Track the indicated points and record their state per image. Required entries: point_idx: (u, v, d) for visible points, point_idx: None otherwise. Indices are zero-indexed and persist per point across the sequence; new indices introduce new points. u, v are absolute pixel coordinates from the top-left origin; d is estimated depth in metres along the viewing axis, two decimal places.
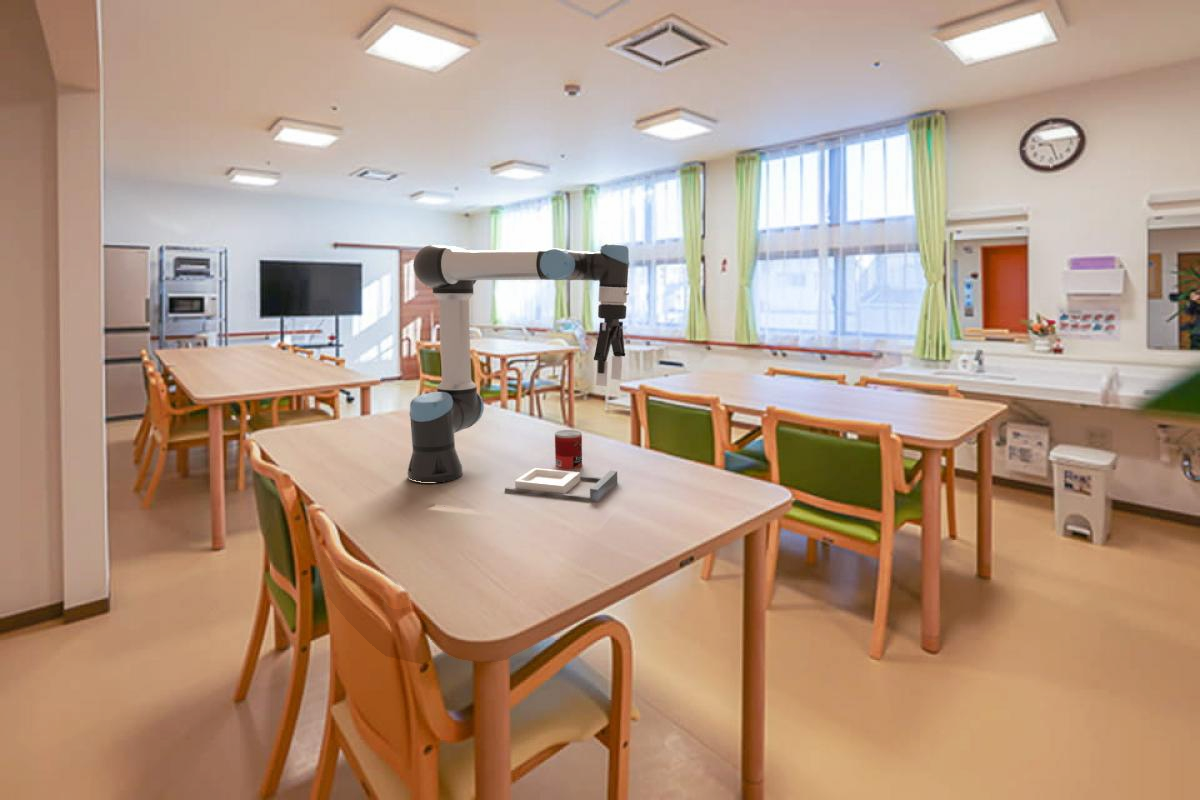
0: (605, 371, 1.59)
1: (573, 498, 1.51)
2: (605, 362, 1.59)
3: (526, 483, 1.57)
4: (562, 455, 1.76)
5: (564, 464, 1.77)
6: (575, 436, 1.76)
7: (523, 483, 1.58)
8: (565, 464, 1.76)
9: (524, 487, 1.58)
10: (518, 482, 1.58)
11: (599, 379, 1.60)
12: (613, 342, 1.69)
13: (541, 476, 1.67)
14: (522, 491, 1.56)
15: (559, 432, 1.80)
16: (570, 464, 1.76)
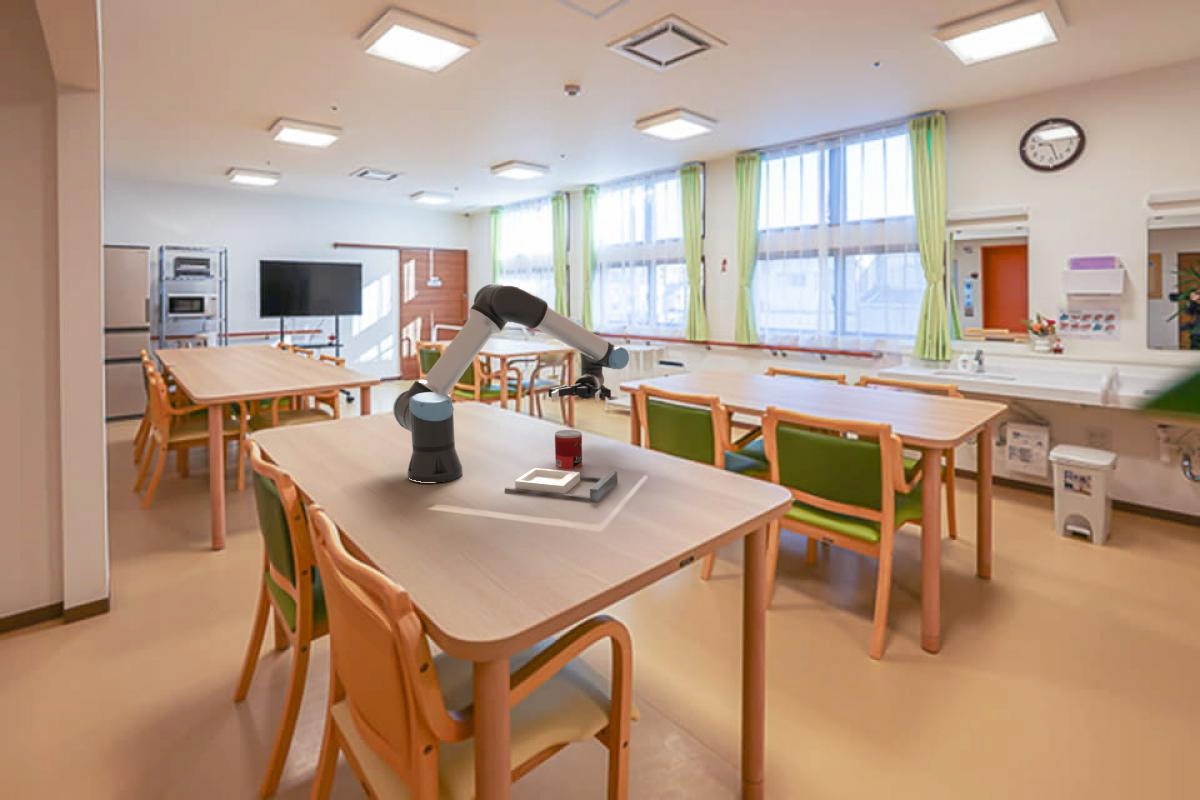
0: (599, 399, 1.89)
1: (573, 498, 1.51)
2: None
3: (526, 483, 1.57)
4: (562, 455, 1.76)
5: (564, 464, 1.77)
6: (575, 436, 1.76)
7: (523, 483, 1.58)
8: (565, 464, 1.76)
9: (524, 487, 1.58)
10: (518, 482, 1.58)
11: (598, 395, 1.87)
12: (568, 390, 1.97)
13: (541, 476, 1.67)
14: (522, 491, 1.56)
15: (559, 432, 1.80)
16: (570, 464, 1.76)
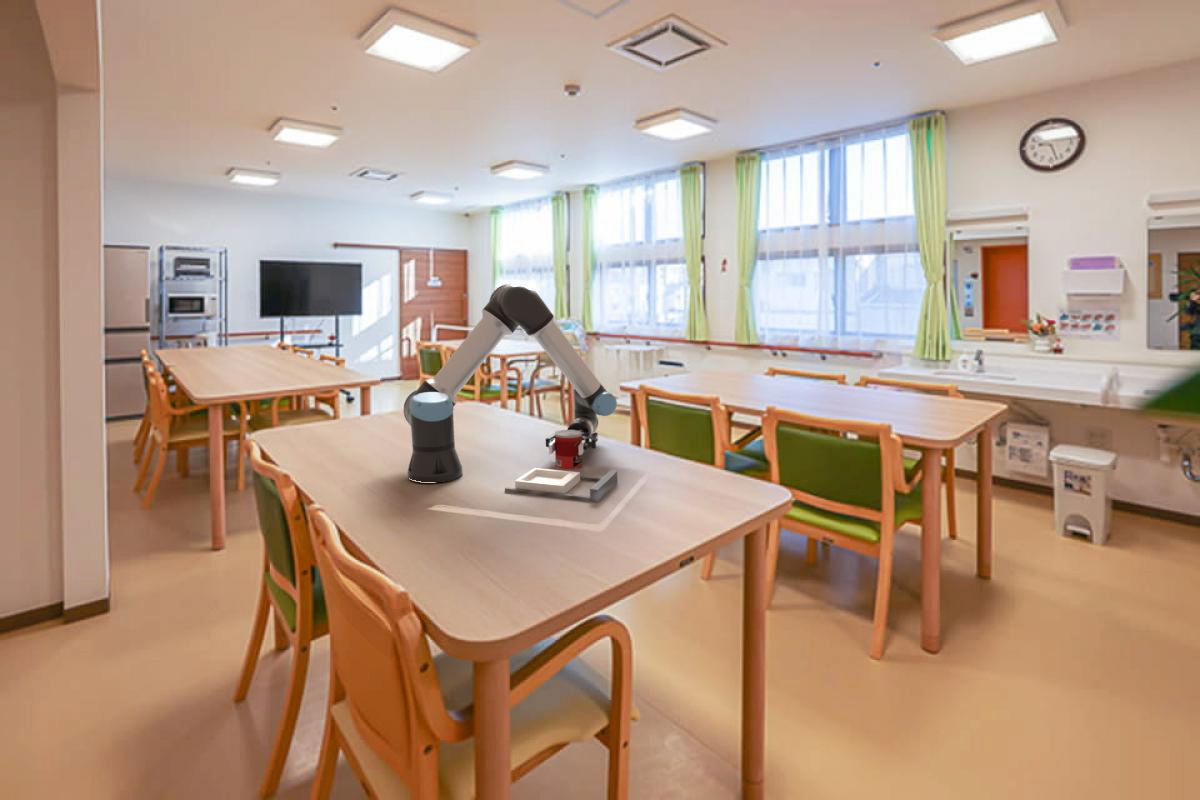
0: (583, 450, 1.78)
1: (573, 498, 1.51)
2: None
3: (526, 483, 1.57)
4: (562, 455, 1.76)
5: (564, 464, 1.77)
6: (575, 436, 1.76)
7: (523, 483, 1.58)
8: (565, 464, 1.76)
9: (524, 487, 1.58)
10: (518, 482, 1.58)
11: (582, 447, 1.75)
12: None
13: (541, 476, 1.67)
14: (522, 491, 1.56)
15: (559, 432, 1.80)
16: (570, 464, 1.76)
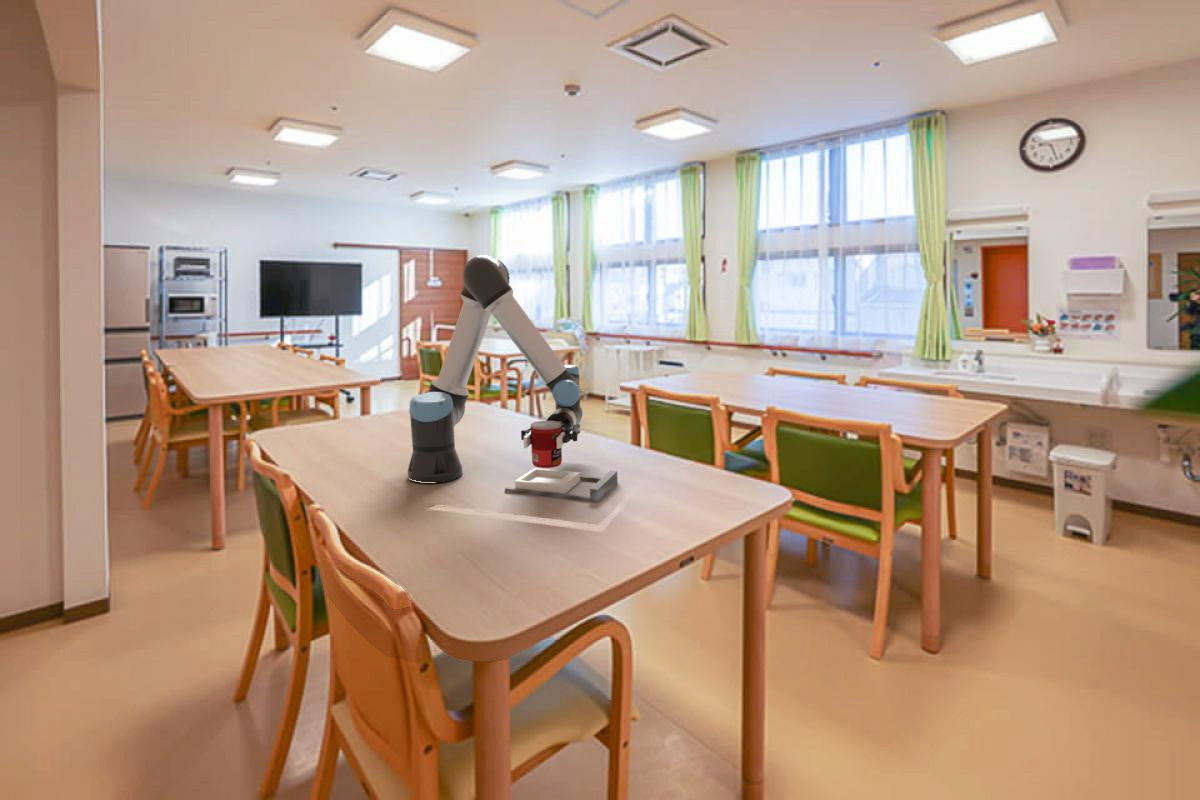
0: (563, 443, 1.59)
1: (573, 498, 1.51)
2: None
3: (526, 483, 1.57)
4: (539, 448, 1.57)
5: (540, 459, 1.57)
6: (553, 427, 1.56)
7: (523, 483, 1.58)
8: (542, 459, 1.57)
9: (524, 487, 1.58)
10: (518, 482, 1.58)
11: (560, 440, 1.56)
12: None
13: (541, 476, 1.67)
14: (522, 491, 1.56)
15: (536, 423, 1.61)
16: (548, 459, 1.57)
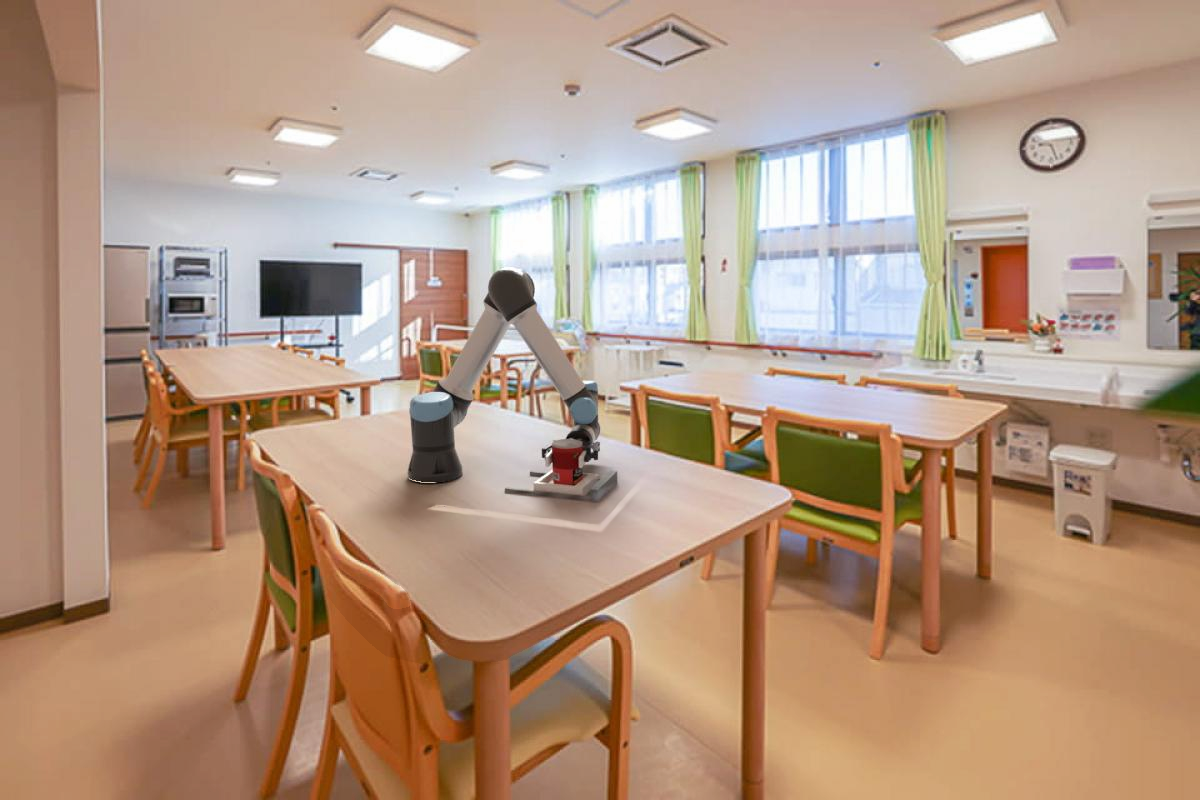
0: (584, 462, 1.58)
1: (573, 498, 1.51)
2: None
3: (545, 485, 1.56)
4: (560, 467, 1.56)
5: (562, 478, 1.56)
6: (575, 446, 1.55)
7: (542, 485, 1.56)
8: (563, 478, 1.56)
9: (543, 489, 1.56)
10: (537, 484, 1.57)
11: (582, 459, 1.55)
12: None
13: None
14: (522, 491, 1.56)
15: (557, 441, 1.60)
16: (569, 478, 1.56)
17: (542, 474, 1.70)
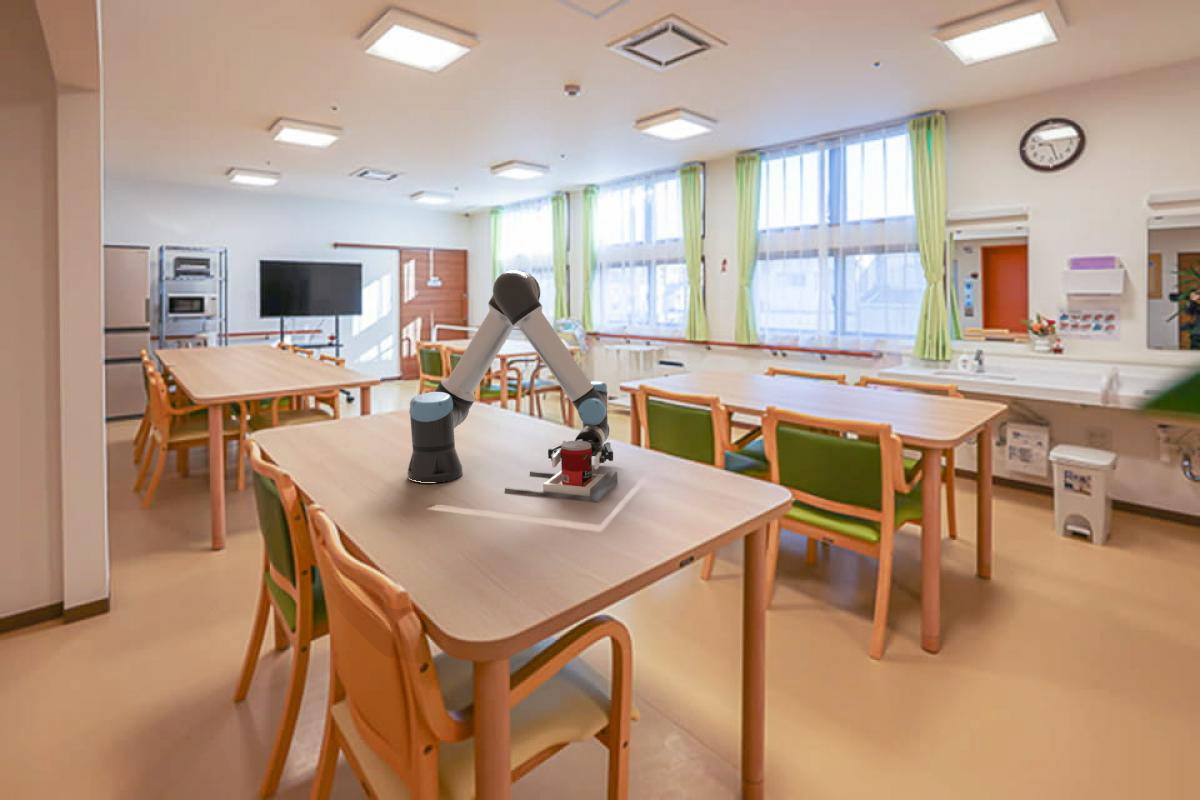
0: (599, 463, 1.57)
1: (573, 498, 1.51)
2: None
3: (554, 486, 1.55)
4: (570, 469, 1.55)
5: (571, 480, 1.55)
6: (584, 448, 1.54)
7: (551, 486, 1.55)
8: (573, 480, 1.55)
9: (552, 490, 1.55)
10: (546, 485, 1.56)
11: (598, 460, 1.54)
12: None
13: None
14: (522, 491, 1.56)
15: (566, 443, 1.59)
16: (579, 480, 1.55)
17: (542, 474, 1.70)
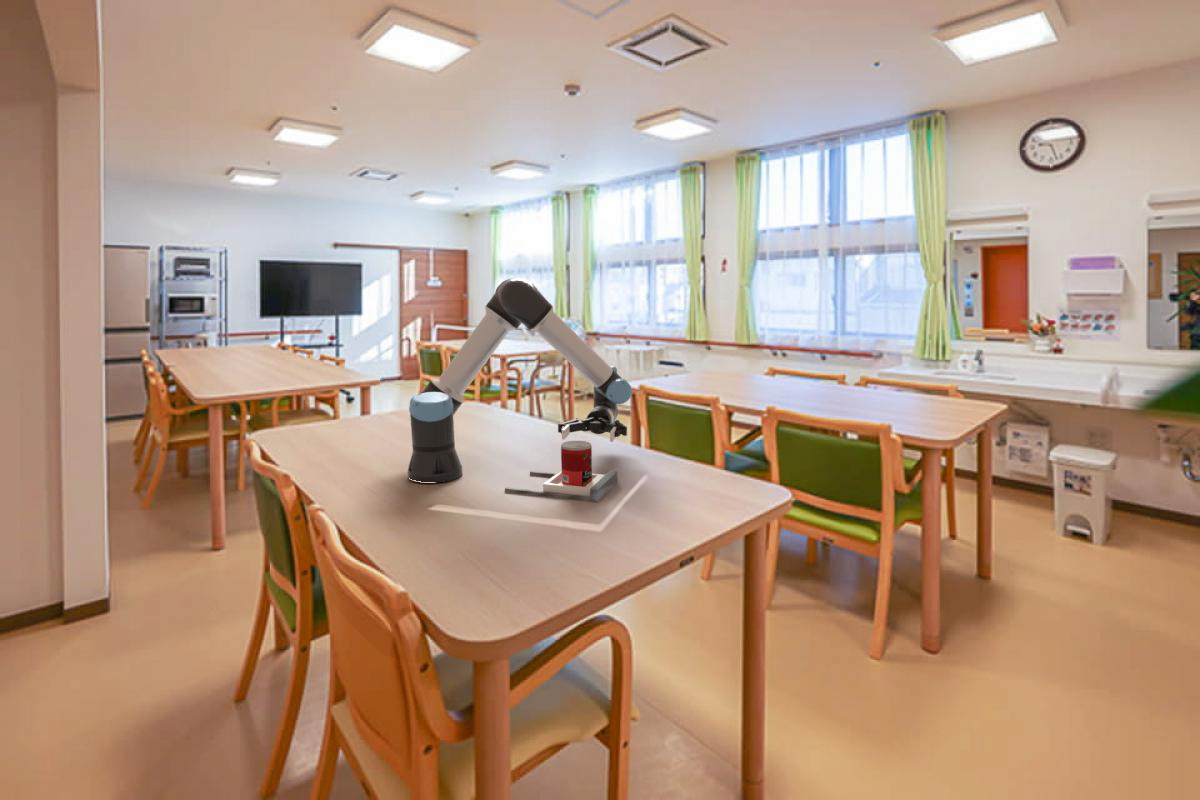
0: (614, 437, 1.71)
1: (573, 498, 1.51)
2: None
3: (554, 486, 1.55)
4: (570, 469, 1.55)
5: (571, 480, 1.55)
6: (584, 448, 1.54)
7: (551, 486, 1.55)
8: (573, 480, 1.55)
9: (552, 490, 1.55)
10: (546, 485, 1.56)
11: (613, 433, 1.69)
12: (580, 425, 1.79)
13: None
14: (522, 491, 1.56)
15: (566, 443, 1.59)
16: (579, 480, 1.55)
17: (542, 474, 1.70)
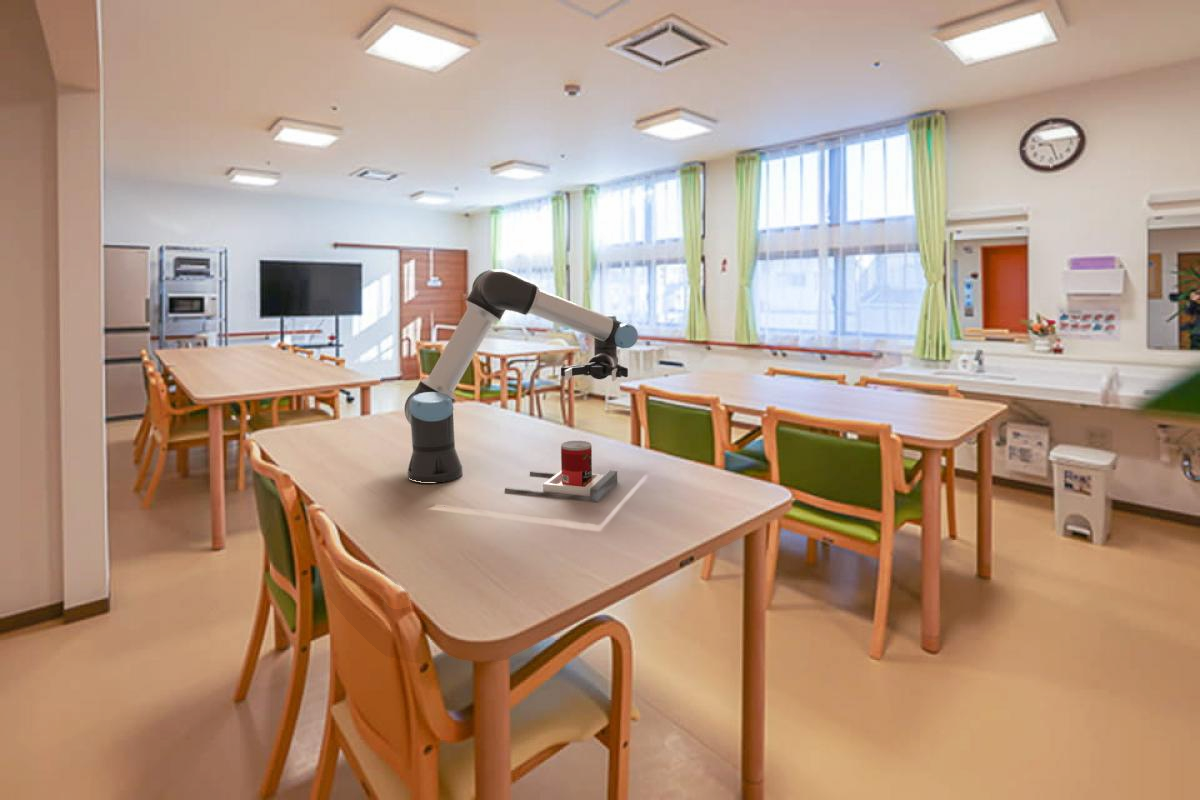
0: (616, 377, 1.77)
1: (573, 498, 1.51)
2: None
3: (554, 486, 1.55)
4: (570, 469, 1.55)
5: (571, 480, 1.55)
6: (584, 448, 1.54)
7: (551, 486, 1.55)
8: (573, 480, 1.55)
9: (552, 490, 1.55)
10: (546, 485, 1.56)
11: (615, 373, 1.74)
12: (582, 369, 1.85)
13: None
14: (522, 491, 1.56)
15: (566, 443, 1.59)
16: (579, 480, 1.55)
17: (542, 474, 1.70)
